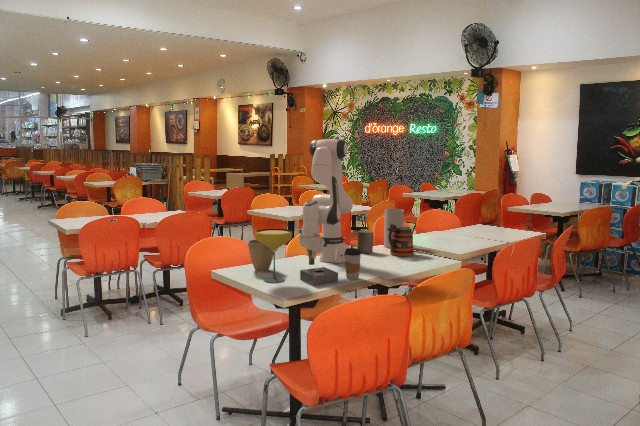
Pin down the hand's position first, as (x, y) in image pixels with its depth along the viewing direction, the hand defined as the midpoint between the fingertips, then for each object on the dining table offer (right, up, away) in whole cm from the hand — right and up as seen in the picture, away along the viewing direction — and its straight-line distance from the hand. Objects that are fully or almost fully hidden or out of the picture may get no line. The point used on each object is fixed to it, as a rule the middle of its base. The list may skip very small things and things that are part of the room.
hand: (311, 257), depth 282 cm
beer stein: (+54, -3, +48) cm, 73 cm away
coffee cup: (+21, -10, -9) cm, 25 cm away
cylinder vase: (+54, +1, +74) cm, 91 cm away
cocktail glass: (-19, -11, -14) cm, 26 cm away
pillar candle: (+33, -2, +55) cm, 64 cm away
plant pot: (-27, -8, +7) cm, 29 cm away
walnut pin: (0, -4, +1) cm, 4 cm away
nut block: (+4, -11, -15) cm, 19 cm away
